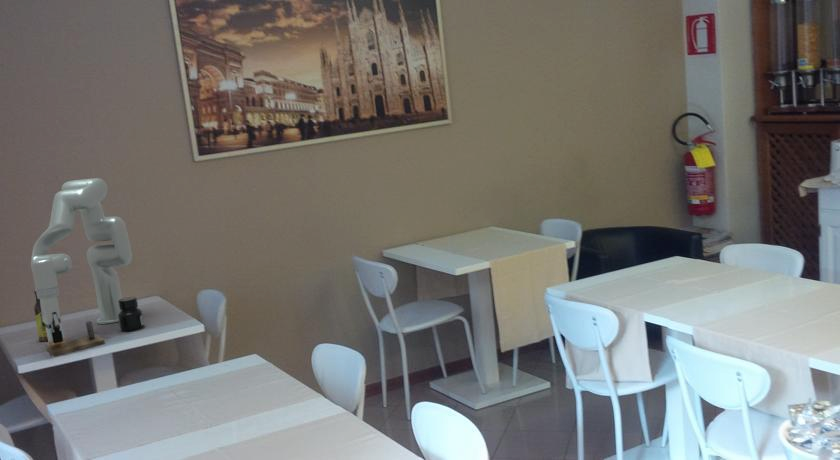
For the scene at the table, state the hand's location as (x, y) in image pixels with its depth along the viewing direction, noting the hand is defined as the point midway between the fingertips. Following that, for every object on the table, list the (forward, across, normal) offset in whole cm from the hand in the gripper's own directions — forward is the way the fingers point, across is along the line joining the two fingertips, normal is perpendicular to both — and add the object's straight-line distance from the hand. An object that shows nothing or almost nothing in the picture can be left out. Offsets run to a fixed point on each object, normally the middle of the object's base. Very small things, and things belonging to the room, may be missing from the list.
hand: (56, 340), depth 330 cm
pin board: (+4, 0, +6) cm, 7 cm away
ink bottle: (+4, -7, +29) cm, 30 cm away
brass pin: (+4, 0, 0) cm, 4 cm away
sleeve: (+1, 0, 0) cm, 1 cm away
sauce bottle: (+4, -24, +1) cm, 24 cm away
